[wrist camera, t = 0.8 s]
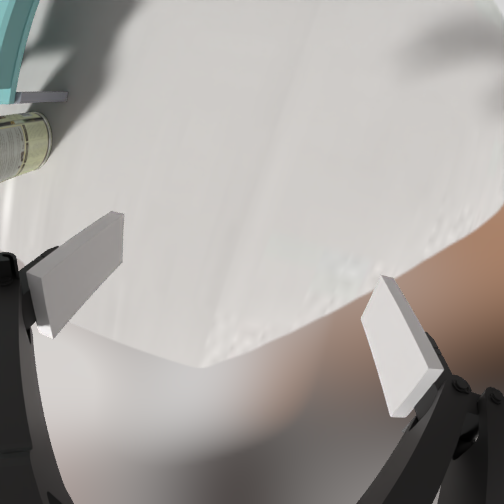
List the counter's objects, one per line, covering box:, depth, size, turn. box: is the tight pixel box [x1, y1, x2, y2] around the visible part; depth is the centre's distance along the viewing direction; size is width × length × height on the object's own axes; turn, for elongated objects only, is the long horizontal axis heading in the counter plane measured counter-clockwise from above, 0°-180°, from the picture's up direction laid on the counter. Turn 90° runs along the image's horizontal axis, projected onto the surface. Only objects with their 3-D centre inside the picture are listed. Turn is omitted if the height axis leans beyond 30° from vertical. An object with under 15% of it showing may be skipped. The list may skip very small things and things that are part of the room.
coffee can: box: [0, 112, 52, 183], centre depth 32 cm, size 10×10×14 cm
